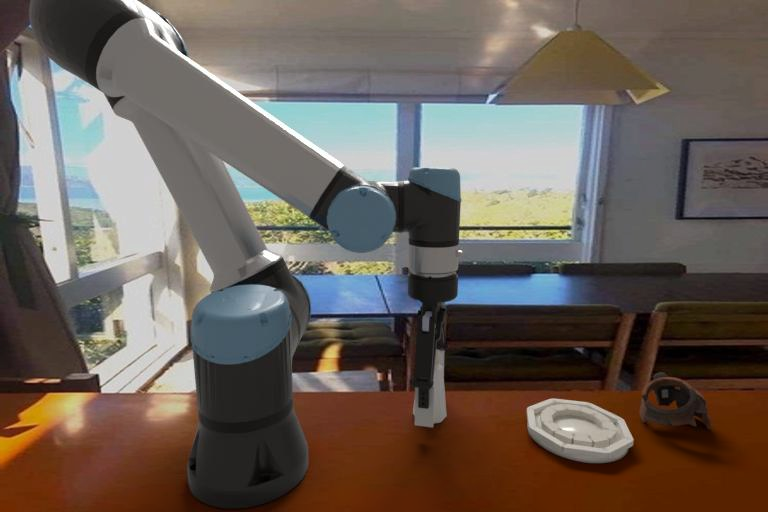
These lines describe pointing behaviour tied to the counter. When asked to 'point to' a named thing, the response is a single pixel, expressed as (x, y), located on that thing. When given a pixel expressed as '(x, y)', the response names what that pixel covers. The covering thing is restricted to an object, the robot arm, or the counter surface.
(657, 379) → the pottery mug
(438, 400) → the pepper shaker
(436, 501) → the counter surface
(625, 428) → the dish
